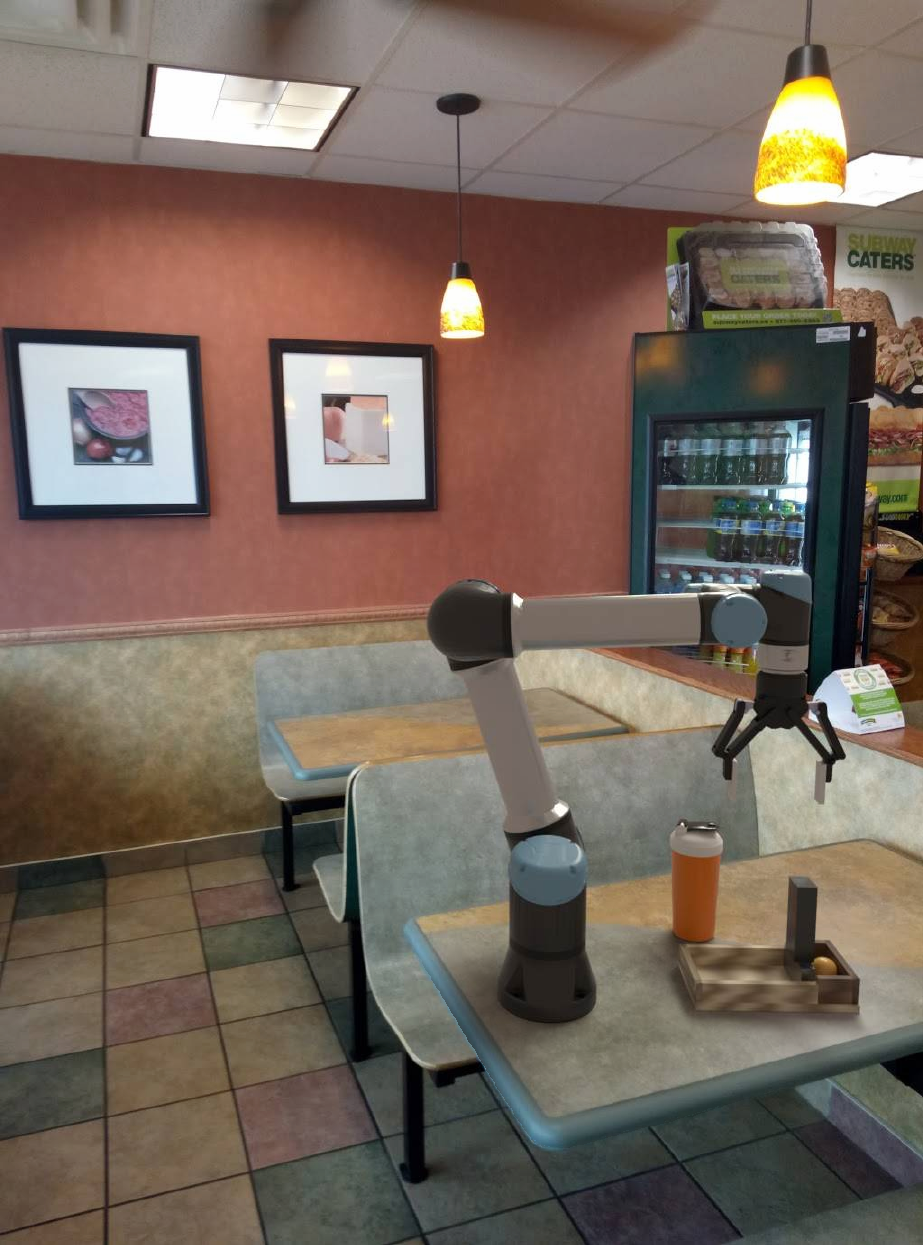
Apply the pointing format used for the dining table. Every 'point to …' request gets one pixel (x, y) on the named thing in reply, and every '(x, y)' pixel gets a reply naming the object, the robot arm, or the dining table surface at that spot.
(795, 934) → the block
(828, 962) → the ball
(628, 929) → the dining table surface
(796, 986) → the tray
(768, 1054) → the dining table surface
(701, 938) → the shaker bottle
